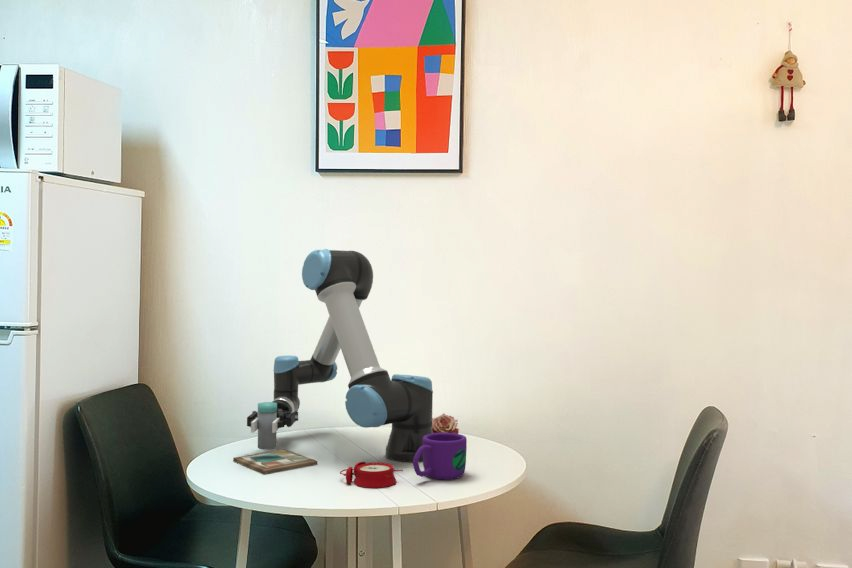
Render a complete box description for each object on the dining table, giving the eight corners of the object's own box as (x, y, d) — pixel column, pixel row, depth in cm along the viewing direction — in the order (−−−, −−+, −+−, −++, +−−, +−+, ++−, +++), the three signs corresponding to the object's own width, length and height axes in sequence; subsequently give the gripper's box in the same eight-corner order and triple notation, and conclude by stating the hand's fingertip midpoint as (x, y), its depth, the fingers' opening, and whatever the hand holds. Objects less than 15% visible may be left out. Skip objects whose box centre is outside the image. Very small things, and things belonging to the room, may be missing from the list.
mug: (442, 467, 190) (442, 430, 190) (475, 475, 182) (475, 436, 182) (397, 480, 177) (397, 440, 177) (431, 489, 169) (431, 447, 169)
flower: (423, 432, 226) (425, 415, 222) (448, 424, 230) (451, 407, 226) (437, 454, 220) (440, 437, 215) (463, 446, 224) (466, 428, 219)
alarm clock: (389, 476, 168) (335, 456, 174) (384, 501, 169) (330, 480, 174) (407, 466, 178) (355, 447, 183) (401, 489, 178) (350, 470, 184)
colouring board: (317, 464, 193) (317, 459, 193) (264, 474, 182) (264, 469, 182) (284, 452, 206) (284, 447, 206) (233, 461, 196) (233, 456, 196)
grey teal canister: (280, 447, 194) (280, 404, 194) (262, 450, 191) (263, 406, 191) (270, 444, 198) (271, 401, 198) (253, 446, 195) (254, 403, 195)
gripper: (309, 424, 213) (296, 441, 189) (249, 423, 212) (229, 441, 189) (309, 399, 213) (296, 413, 189) (249, 398, 212) (229, 413, 189)
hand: (263, 427), depth 189 cm, fingers closed on grey teal canister, 5 cm apart
